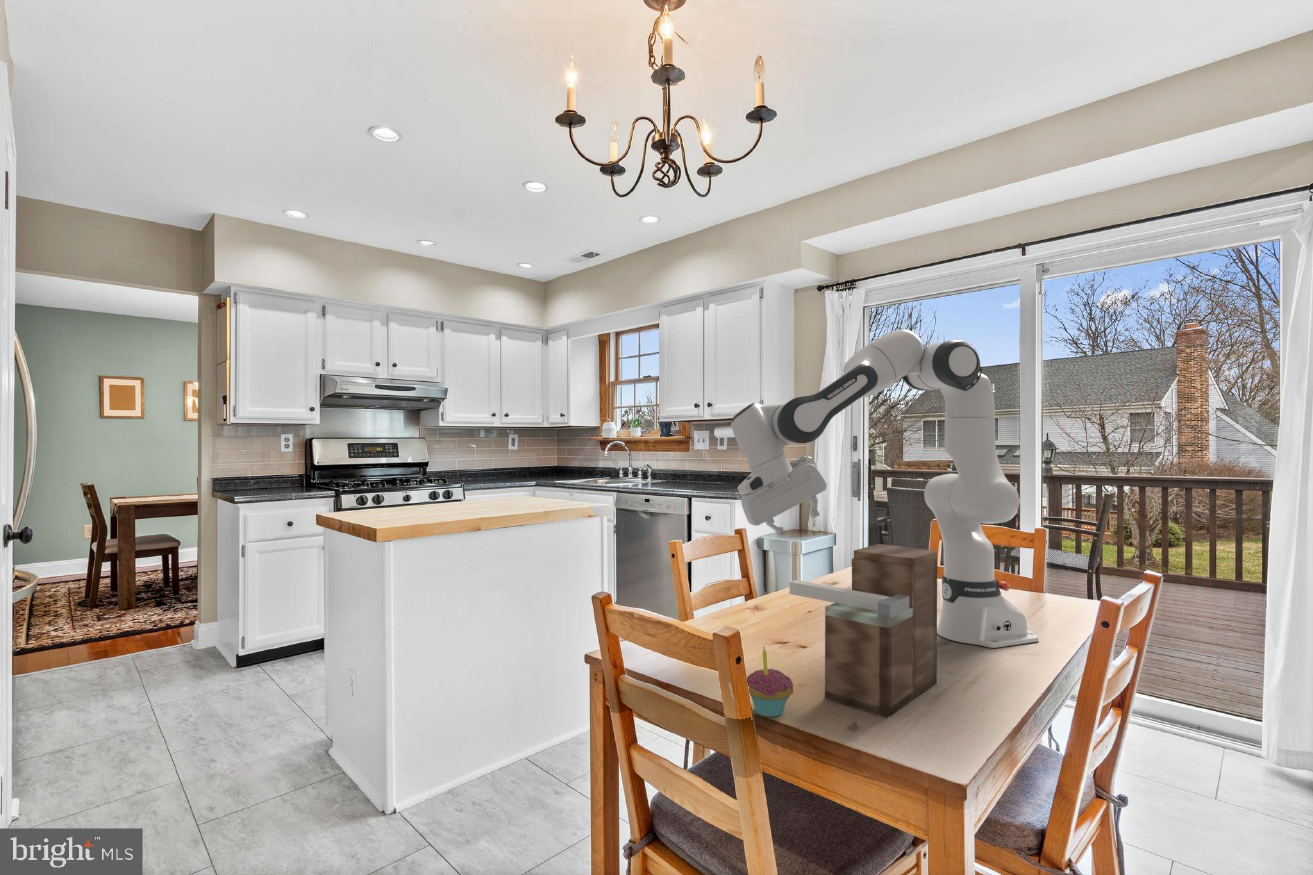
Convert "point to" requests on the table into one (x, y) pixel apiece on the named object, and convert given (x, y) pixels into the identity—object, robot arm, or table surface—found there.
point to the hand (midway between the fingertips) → (799, 525)
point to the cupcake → (769, 690)
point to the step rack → (884, 633)
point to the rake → (852, 598)
